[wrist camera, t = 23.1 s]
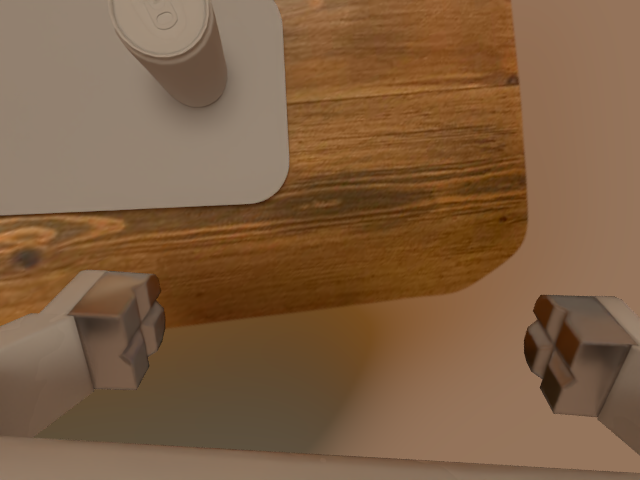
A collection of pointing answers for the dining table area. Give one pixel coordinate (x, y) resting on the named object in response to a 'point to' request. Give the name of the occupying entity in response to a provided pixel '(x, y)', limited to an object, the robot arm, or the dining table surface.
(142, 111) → the grey flat rounded rectangle
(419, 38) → the dining table surface
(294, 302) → the dining table surface
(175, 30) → the beverage can
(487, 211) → the dining table surface
